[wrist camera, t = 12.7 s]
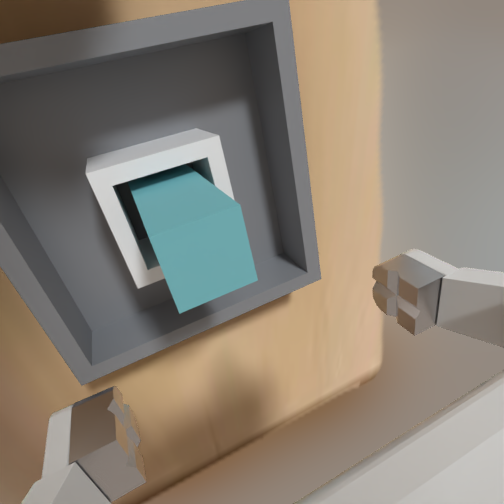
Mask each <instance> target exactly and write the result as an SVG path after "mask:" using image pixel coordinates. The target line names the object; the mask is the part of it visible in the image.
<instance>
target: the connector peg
mask: <svg viewBox="0 0 504 504" xmlns="http://www.w3.org/2000/svg"><path fill="white" fill-rule="evenodd" d="M127 182H128V185H129V187H130V190H131V192H132V195H133V198H134V200H135V203H136V205H137V208H138V211H139V213H140V216H141V218H142V221H143V224H144V226H145V229H146V231H147V234H148V237H149V239H150V242H151V244H152V247H153V249H154V252H155V254H156V257H157V259H158V262H159V264H160V267H161V269H162V271H163V274H164V276H165V279H166V281H167V284H168V286H169V289H170V291H171V294H172V296H173V299H174V301H175V304H176V306H177V309H178V311H179V314H180V313H182V312H185V311H187V310H189V309H192V308H194V307H197V306H199V305H201V304H204V303H206V302H208V301H211V300H213V299H215V298H218V297H220V296H222V295H225V294H227V293H229V292H232V291H234V290H236V289H239V288H241V287H244V286H246V285H248V284H251V283H253V282H255V281H258V278H257V274H256V270H255V265H254V261H253V257H252V253H251V248H250V244H249V240H248V236H247V231H246V227H245V223H244V219H243V214H242V210H241V206H240V204H239V203H237V202H236V201H235V200H233V199H232V198H231V197H229V196H228V195H226V194H225V193H224V192H222V191H221V190H220V189H218V188H217V187H216V186H214V185H213V184H212V183H210V182H209V181H208V180H206V179H205V178H204V177H202V176H201V175H200V174H198V173H197V172H196V171H194V170H193V169H192V168H190V167H189V166H188V165H186V164H183V165H180V166H176V167H173V168H170V169H166V170H163V171H160V172H157V173H153V174H150V175H147V176H143V177H140V178H137V179H133V180H130V181H127Z"/></svg>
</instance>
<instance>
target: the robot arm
mask: <svg viewBox="0 0 504 504" xmlns="http://www.w3.org/2000/svg"><path fill="white" fill-rule="evenodd" d="M372 278H373V279H375V280H376V283H375V285H374V287H373V298H374V300H375V303H376V305H377V306H378V307H379V308H380V310H381V311H383V312H384V313H385V314H386V315H390V316H395V317H396V319H397V323H398V324H400V325H401V326H402V327H403V328H405V329H406V330H407V331H409V332H410V333H411V334H413V335H414V336H415V335H417V334H419V333H421V332H423V331H425V330H427V329H429V328H431V327H433V326H435V325H437V326H438V327H441V328H444V329H447V330H450V331H453V332H456V333H460V334H463V335H466V336H469V337H472V338H475V339H478V340H481V341H485V342H488V343H491V344H494V345H497V346H500V347H503V348H504V272H496V271H488V270H480V269H471V268H461V269H458V268H456V267H454V266H452V265H450V264H448V263H445V262H443V261H441V260H439V259H437V258H435V257H433V256H431V255H429V254H427V253H425V252H423V251H421V250H419V249H411V250H408V251H406V252H404V253H402V254H400V255H399V256H396V257H394V258H392V259H390V260H388V261H385V262H383V263H381V264H379V265H377V266H375V267H374V269H373V276H372ZM140 441H141V439H140V433H139V428H138V425H137V421H136V418H135V416H134V414H133V411H132V410H131V408H130V406H129V405H126V404H123V397H122V393H121V392H120V391H119V389H118V388H117V387H116V386H113V387H111V388H109V389H106V390H104V391H102V392H99V393H97V394H95V395H92V396H90V397H88V398H85V399H83V400H81V401H78V402H76V403H74V404H73V405H71V406H68V407H66V408H63V409H61V410H59V411H56V412H54V413H52V415H51V417H50V419H49V424H48V431H47V439H46V447H45V455H44V463H43V471H42V478H41V479H40V480H38V481H36V482H34V484H33V485H32V487H31V488H30V490H29V492H28V493H27V495H26V496H25V498H24V499H23V501H22V502H21V504H111V502H113V501H115V500H116V499H118V498H120V497H122V496H123V495H125V494H127V493H128V492H130V491H132V490H134V489H135V488H137V487H139V486H141V485H142V484H144V483H146V475H145V468H144V460H143V456H142V454H141V453H140V451H139V450H138V448H137V447H138V445H139V443H140ZM293 504H504V370H502V371H501V372H499V373H498V374H496V375H494V376H493V377H491V378H490V379H488V380H487V381H485V382H483V383H482V384H480V385H479V386H477V387H476V388H474V389H473V390H471V391H469V392H468V393H466V394H465V395H463V396H461V397H460V398H458V399H457V400H455V401H454V402H452V403H450V404H449V405H447V406H446V407H444V408H443V409H441V410H439V411H438V412H436V413H435V414H433V415H432V416H430V417H428V418H427V419H425V420H424V421H422V422H421V423H419V424H417V425H416V426H414V427H413V428H411V429H410V430H408V431H406V432H405V433H403V434H402V435H400V436H399V437H397V438H395V439H394V440H392V441H391V442H389V443H388V444H386V445H384V446H383V447H381V448H380V449H378V450H377V451H375V452H373V453H372V454H371V455H369V456H367V457H366V458H364V459H363V460H361V461H359V462H358V463H356V464H355V465H353V466H351V467H350V468H348V469H347V470H345V471H344V472H342V473H341V474H339V475H337V476H336V477H335V478H333V479H331V480H330V481H328V482H326V483H325V484H323V485H322V486H320V487H319V488H317V489H315V490H314V491H312V492H311V493H309V494H308V495H306V496H304V497H303V498H301V499H300V500H298V501H297V502H295V503H293Z"/></svg>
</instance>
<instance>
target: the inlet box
mask: <svg viewBox="0 0 504 504" xmlns="http://www.w3.org/2000/svg"><path fill="white" fill-rule="evenodd" d="M183 164H186V165H188V166H189V167H190V168H192V169H193V170H194V171H196V172H197V173H198V174H200V175H201V176H202V177H204V178H205V179H206V180H208V181H209V182H210V183H212V184H213V185H214V186H216V187H217V188H218V189H220V190H221V191H222V192H224V193H225V194H226V195H228V196H229V197H231V198H232V199H233V200H235V201H236V202H237V203H239V204H240V206H241V210H242V214H243V219H244V223H245V227H246V231H247V236H248V240H249V244H250V248H251V253H252V257H253V261H254V265H255V270H256V274H257V278H258V281H255V282H253V283H251V284H248V285H246V286H244V287H241V288H239V289H236V290H234V291H232V292H229V293H227V294H225V295H222V296H220V297H218V298H215V299H213V300H211V301H208V302H206V303H204V304H201V305H199V306H197V307H194V308H192V309H189V310H187V311H185V312H182V313H180V314H179V311H178V309H177V306H176V304H175V301H174V299H173V296H172V294H171V291H170V289H169V286H168V284H167V281H166V279H165V276H164V274H163V271H162V269H161V267H160V264H159V262H158V259H157V257H156V254H155V252H154V249H153V247H152V244H151V242H150V239H149V237H148V234H147V231H146V229H145V226H144V224H143V221H142V218H141V216H140V213H139V211H138V208H137V205H136V203H135V200H134V198H133V195H132V192H131V190H130V187H129V185H128V182H127V181H130V180H133V179H137V178H140V177H143V176H147V175H150V174H153V173H157V172H160V171H163V170H166V169H170V168H173V167H176V166H180V165H183ZM0 267H1V268H2V270H3V271H4V273H5V274H6V276H7V277H8V278H9V280H10V281H11V283H12V284H13V286H14V287H15V289H16V290H17V292H18V293H19V295H20V296H21V298H22V299H23V300H24V302H25V303H26V305H27V306H28V308H29V309H30V311H31V312H32V314H33V315H34V317H35V318H36V320H37V321H38V322H39V324H40V325H41V327H42V328H43V330H44V331H45V333H46V334H47V336H48V337H49V339H50V340H51V341H52V343H53V344H54V346H55V347H56V349H57V350H58V352H59V353H60V355H61V356H62V358H63V359H64V361H65V362H66V363H67V365H68V366H69V368H70V369H71V371H72V372H73V374H74V375H75V377H76V378H77V380H78V381H79V382H80V384H81V385H84V384H87V383H89V382H91V381H93V380H96V379H98V378H100V377H102V376H105V375H107V374H109V373H111V372H113V371H116V370H118V369H120V368H122V367H125V366H127V365H129V364H131V363H134V362H136V361H138V360H140V359H143V358H145V357H147V356H149V355H152V354H154V353H156V352H158V351H161V350H163V349H165V348H167V347H170V346H172V345H174V344H176V343H179V342H181V341H183V340H185V339H187V338H190V337H192V336H194V335H196V334H199V333H201V332H203V331H205V330H208V329H210V328H212V327H214V326H217V325H219V324H221V323H223V322H226V321H228V320H230V319H232V318H235V317H237V316H239V315H241V314H244V313H246V312H248V311H250V310H253V309H255V308H257V307H259V306H261V305H264V304H266V303H268V302H270V301H273V300H275V299H277V298H279V297H282V296H284V295H286V294H288V293H291V292H293V291H295V290H297V289H300V288H302V287H304V286H306V285H309V284H311V283H313V282H315V281H318V280H320V279H321V273H320V264H319V255H318V247H317V238H316V230H315V221H314V213H313V204H312V195H311V187H310V178H309V170H308V161H307V152H306V144H305V135H304V127H303V118H302V109H301V101H300V92H299V84H298V75H297V67H296V58H295V49H294V41H293V32H292V24H291V15H290V6H289V0H244V1H239V2H233V3H228V4H222V5H216V6H211V7H205V8H200V9H194V10H188V11H183V12H177V13H171V14H166V15H160V16H155V17H149V18H143V19H138V20H132V21H127V22H121V23H115V24H110V25H104V26H99V27H93V28H87V29H82V30H76V31H71V32H65V33H59V34H54V35H48V36H43V37H37V38H31V39H26V40H20V41H14V42H9V43H3V44H0Z"/></svg>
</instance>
